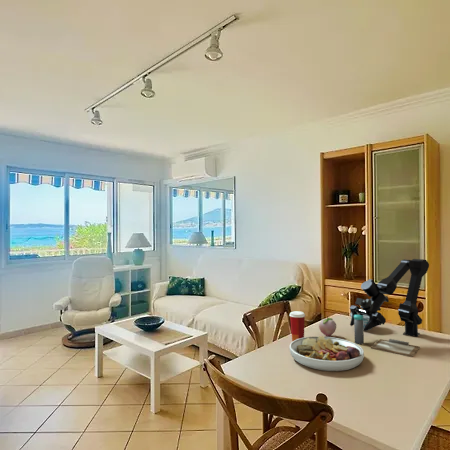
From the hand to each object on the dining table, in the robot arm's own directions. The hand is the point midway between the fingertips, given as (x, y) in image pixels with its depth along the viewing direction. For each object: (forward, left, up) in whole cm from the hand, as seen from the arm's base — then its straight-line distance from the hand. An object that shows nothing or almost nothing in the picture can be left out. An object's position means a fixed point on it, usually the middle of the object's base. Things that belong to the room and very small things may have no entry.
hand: (357, 327), depth 157 cm
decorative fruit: (-1, -16, -7) cm, 17 cm away
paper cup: (+15, -24, -7) cm, 29 cm away
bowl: (+27, -4, -8) cm, 29 cm away
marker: (-1, 0, -7) cm, 7 cm away
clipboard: (-4, +15, -7) cm, 17 cm away
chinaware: (-27, -6, -7) cm, 28 cm away
